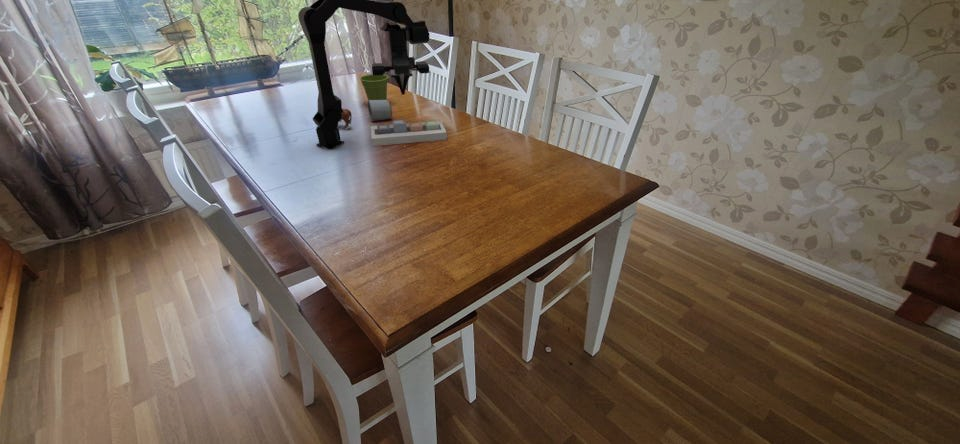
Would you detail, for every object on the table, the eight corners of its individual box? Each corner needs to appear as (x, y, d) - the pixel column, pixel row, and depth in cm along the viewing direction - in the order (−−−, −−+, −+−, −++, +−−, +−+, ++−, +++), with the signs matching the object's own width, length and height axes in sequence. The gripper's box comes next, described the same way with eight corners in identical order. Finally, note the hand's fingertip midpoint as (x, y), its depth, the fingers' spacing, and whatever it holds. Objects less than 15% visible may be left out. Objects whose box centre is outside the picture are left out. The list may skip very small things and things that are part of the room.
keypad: (372, 146, 124) (371, 138, 123) (371, 133, 134) (370, 126, 132) (446, 139, 130) (446, 132, 128) (440, 127, 139) (440, 120, 138)
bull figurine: (326, 122, 142) (321, 101, 138) (356, 127, 139) (352, 105, 134) (318, 126, 139) (313, 104, 134) (349, 131, 135) (344, 108, 131)
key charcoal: (378, 138, 127) (377, 129, 126) (378, 133, 131) (376, 125, 129) (391, 137, 128) (390, 128, 127) (390, 132, 132) (389, 124, 130)
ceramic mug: (394, 120, 145) (391, 100, 141) (372, 123, 142) (369, 103, 138) (387, 113, 153) (385, 94, 149) (367, 115, 150) (364, 96, 146)
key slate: (394, 133, 128) (393, 124, 126) (393, 128, 131) (392, 120, 129) (406, 132, 129) (405, 123, 127) (405, 127, 132) (404, 119, 130)
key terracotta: (411, 135, 130) (410, 126, 128) (409, 131, 133) (408, 122, 131) (423, 134, 131) (422, 125, 129) (421, 130, 134) (420, 121, 132)
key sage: (426, 134, 131) (426, 125, 129) (425, 129, 134) (424, 121, 133) (438, 133, 132) (438, 124, 130) (436, 128, 135) (436, 120, 133)
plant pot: (368, 100, 167) (364, 73, 161) (394, 100, 167) (391, 74, 161) (360, 108, 157) (355, 80, 151) (388, 109, 157) (384, 81, 151)
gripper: (369, 51, 114) (376, 102, 123) (430, 49, 118) (433, 99, 127) (368, 45, 123) (375, 93, 131) (425, 43, 127) (428, 90, 136)
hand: (403, 94), depth 131 cm, fingers closed
